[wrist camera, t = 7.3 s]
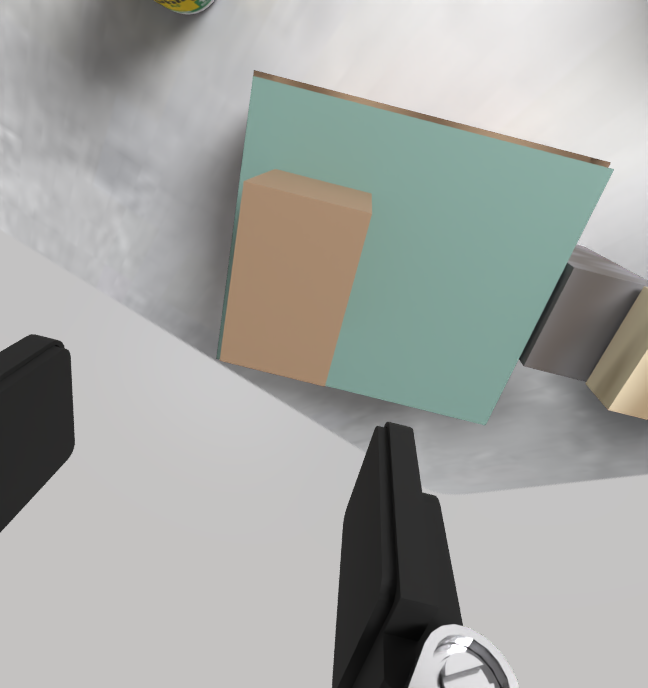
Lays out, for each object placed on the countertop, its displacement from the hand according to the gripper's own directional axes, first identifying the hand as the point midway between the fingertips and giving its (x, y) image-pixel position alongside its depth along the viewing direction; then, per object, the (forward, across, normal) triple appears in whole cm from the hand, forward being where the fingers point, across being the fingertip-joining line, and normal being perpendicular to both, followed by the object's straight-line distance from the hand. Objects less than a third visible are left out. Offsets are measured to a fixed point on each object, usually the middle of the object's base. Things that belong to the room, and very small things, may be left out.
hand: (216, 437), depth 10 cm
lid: (+17, -4, 0) cm, 17 cm away
